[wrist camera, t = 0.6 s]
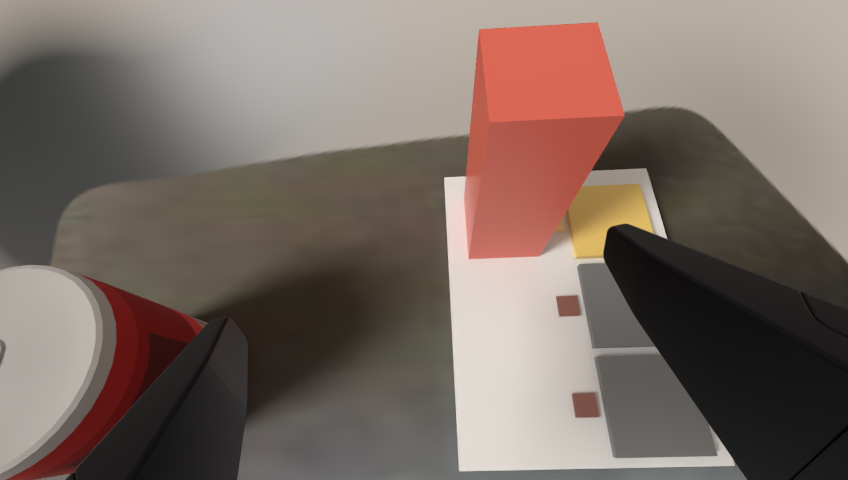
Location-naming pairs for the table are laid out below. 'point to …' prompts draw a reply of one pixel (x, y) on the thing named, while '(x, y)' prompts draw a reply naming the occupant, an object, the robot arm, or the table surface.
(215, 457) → the robot arm
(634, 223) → the plate
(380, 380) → the table surface
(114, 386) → the canned food
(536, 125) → the tall red square pillar
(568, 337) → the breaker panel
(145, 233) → the table surface
